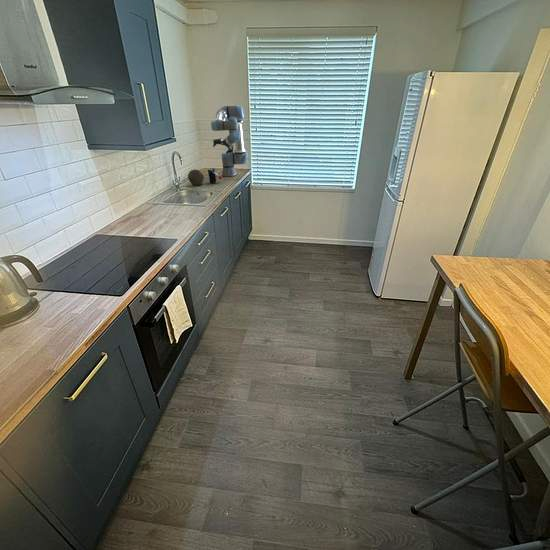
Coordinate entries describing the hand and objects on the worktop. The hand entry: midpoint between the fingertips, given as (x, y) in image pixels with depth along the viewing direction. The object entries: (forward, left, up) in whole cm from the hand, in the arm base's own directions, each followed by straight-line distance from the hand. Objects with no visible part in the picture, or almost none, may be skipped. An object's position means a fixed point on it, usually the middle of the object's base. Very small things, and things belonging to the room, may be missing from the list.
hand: (220, 149), depth 275 cm
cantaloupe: (+23, -16, -30) cm, 41 cm away
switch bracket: (+11, -6, -30) cm, 32 cm away
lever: (+11, -2, -22) cm, 25 cm away
